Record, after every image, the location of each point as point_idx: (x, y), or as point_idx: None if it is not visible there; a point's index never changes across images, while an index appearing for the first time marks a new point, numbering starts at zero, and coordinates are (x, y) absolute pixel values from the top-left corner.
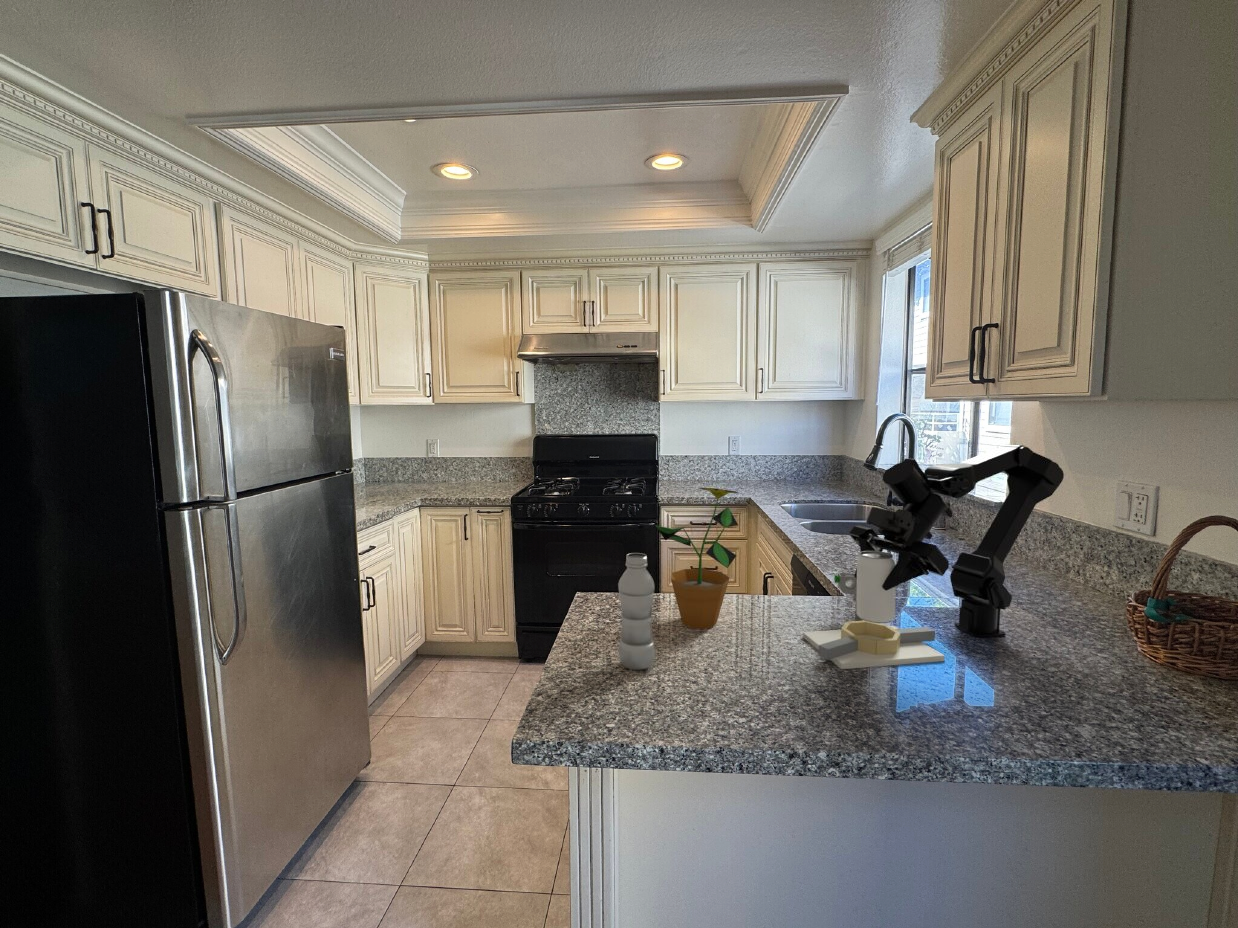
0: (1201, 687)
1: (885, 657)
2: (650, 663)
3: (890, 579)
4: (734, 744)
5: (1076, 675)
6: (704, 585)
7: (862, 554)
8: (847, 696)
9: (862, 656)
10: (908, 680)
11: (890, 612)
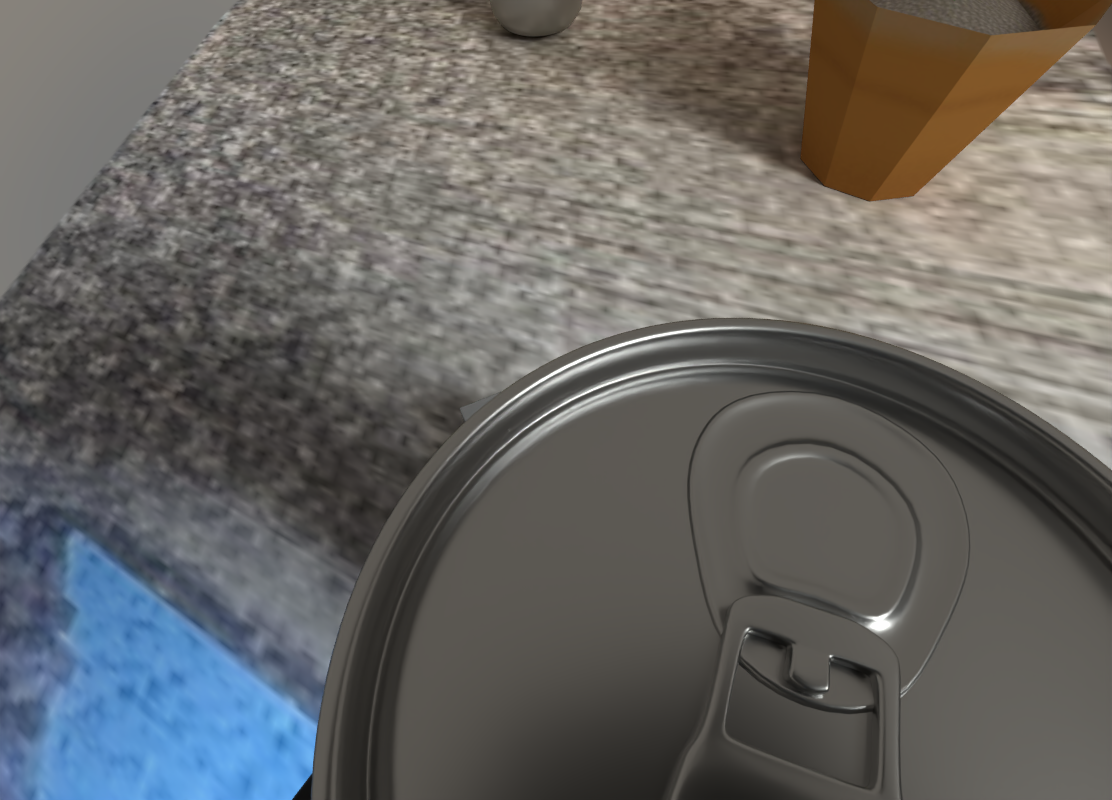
0: None
1: None
2: (502, 19)
3: (305, 787)
4: (152, 122)
5: None
6: (927, 9)
7: (950, 447)
8: (232, 415)
9: None
10: (254, 751)
11: None
